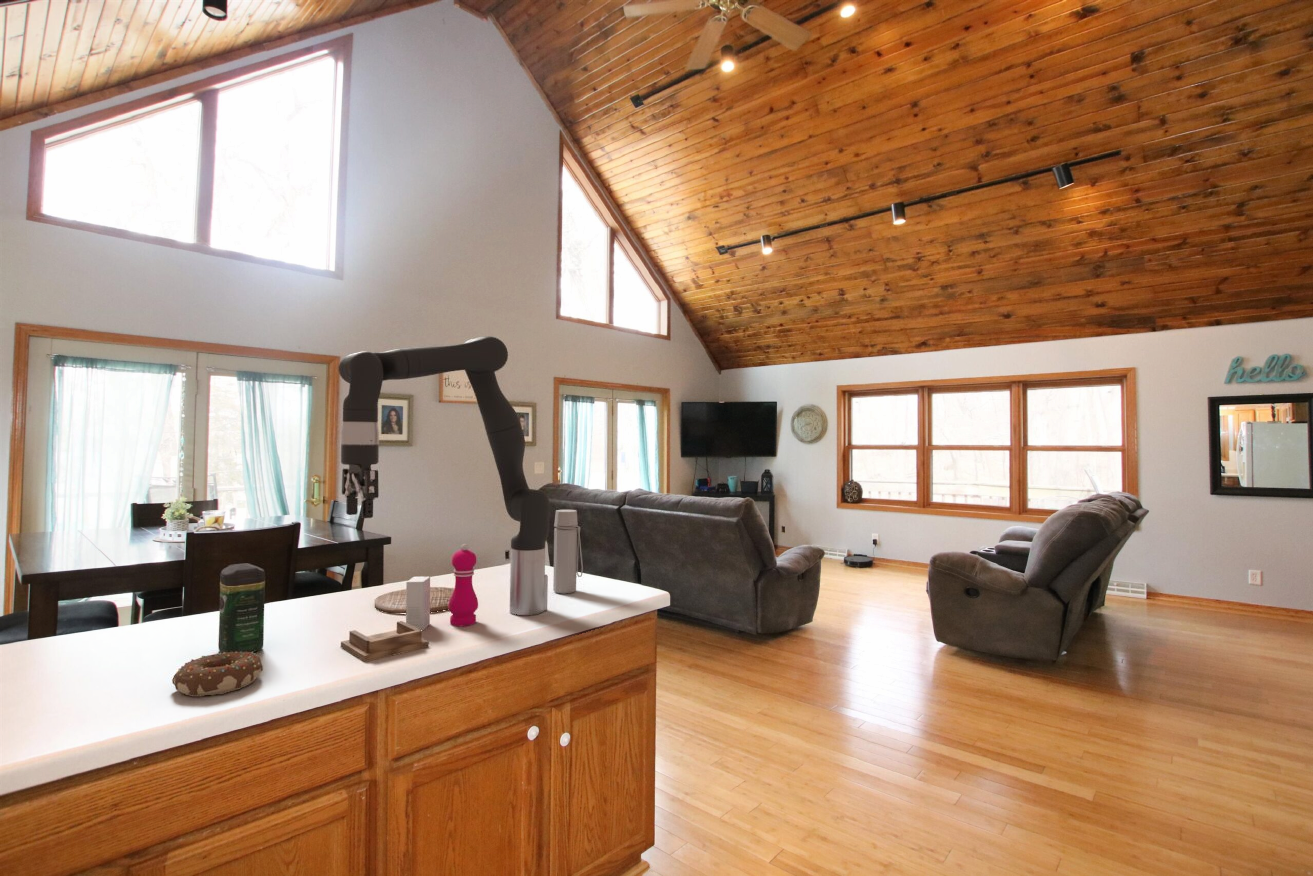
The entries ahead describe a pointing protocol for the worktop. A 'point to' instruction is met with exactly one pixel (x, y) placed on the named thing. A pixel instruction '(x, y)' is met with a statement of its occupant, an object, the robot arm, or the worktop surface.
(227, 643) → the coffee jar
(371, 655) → the u rest
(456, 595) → the pepper mill
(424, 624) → the skincare box
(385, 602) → the trivet
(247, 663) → the donut
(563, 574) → the water bottle
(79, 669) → the worktop surface
